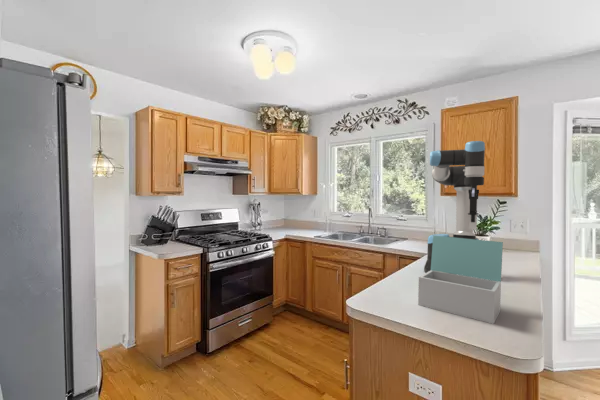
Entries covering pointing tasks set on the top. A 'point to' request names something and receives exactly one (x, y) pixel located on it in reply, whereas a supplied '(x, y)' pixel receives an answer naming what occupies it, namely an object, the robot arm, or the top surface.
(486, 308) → the gray storage box
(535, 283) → the top surface
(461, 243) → the cover
